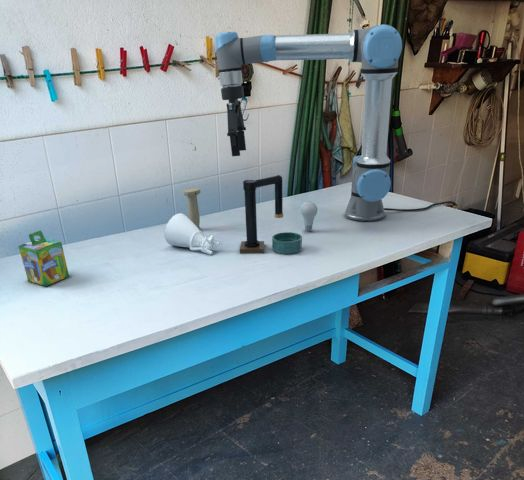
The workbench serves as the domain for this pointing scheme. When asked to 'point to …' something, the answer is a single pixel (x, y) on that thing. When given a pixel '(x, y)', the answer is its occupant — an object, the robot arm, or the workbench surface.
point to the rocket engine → (188, 235)
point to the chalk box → (43, 260)
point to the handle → (193, 205)
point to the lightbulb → (308, 214)
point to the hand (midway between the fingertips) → (239, 153)
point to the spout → (277, 180)
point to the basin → (287, 242)
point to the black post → (251, 226)
